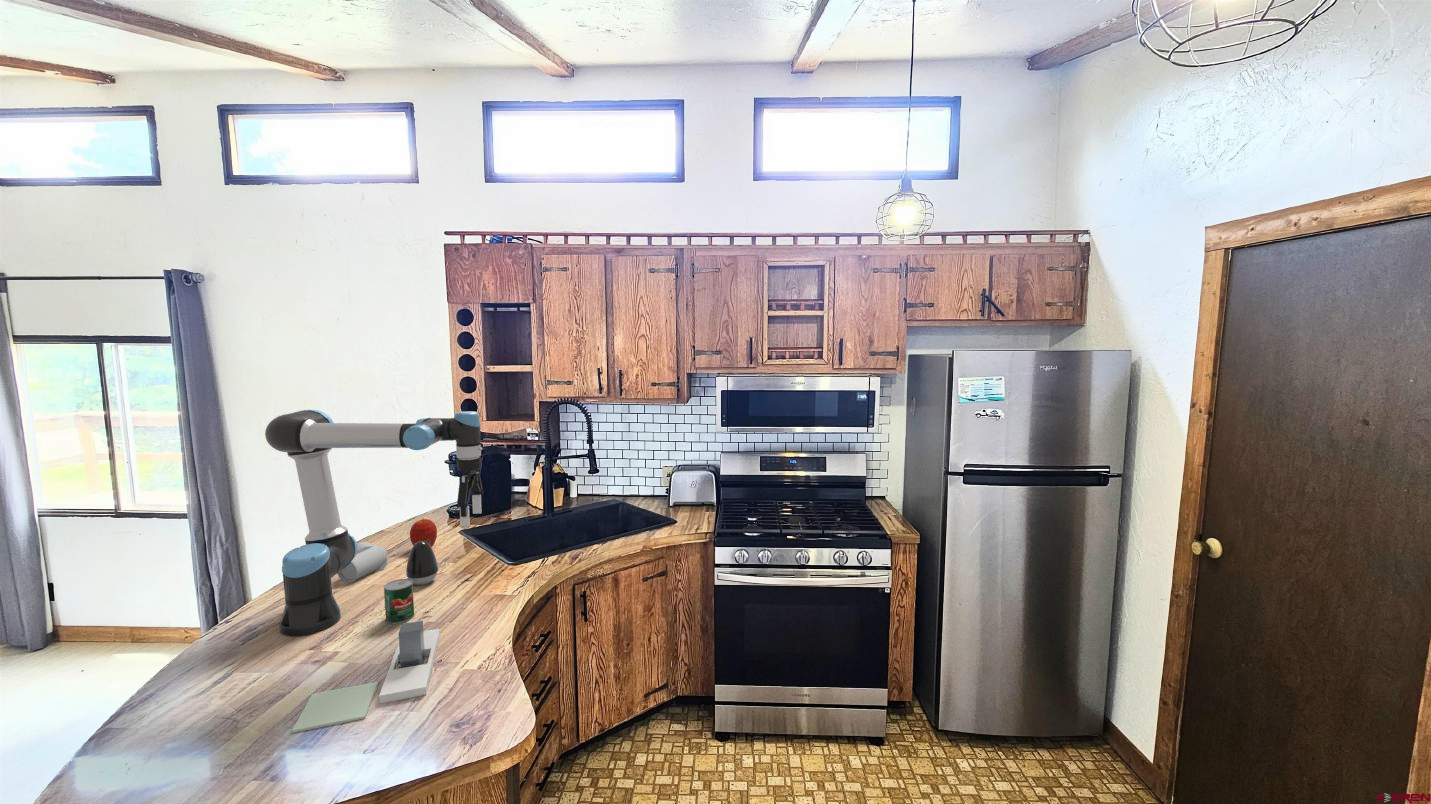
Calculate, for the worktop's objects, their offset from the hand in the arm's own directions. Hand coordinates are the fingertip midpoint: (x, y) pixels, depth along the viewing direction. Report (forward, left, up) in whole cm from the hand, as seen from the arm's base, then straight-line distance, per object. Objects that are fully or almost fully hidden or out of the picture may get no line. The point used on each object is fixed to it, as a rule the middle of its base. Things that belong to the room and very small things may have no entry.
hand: (471, 519), depth 189 cm
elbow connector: (-41, +35, -27) cm, 61 cm away
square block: (-13, -41, -27) cm, 50 cm away
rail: (-13, -41, -27) cm, 50 cm away
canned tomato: (-21, -10, -27) cm, 35 cm away
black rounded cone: (-18, +17, -27) cm, 37 cm away
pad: (-27, -54, -27) cm, 66 cm away
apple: (-22, +52, -27) cm, 63 cm away
